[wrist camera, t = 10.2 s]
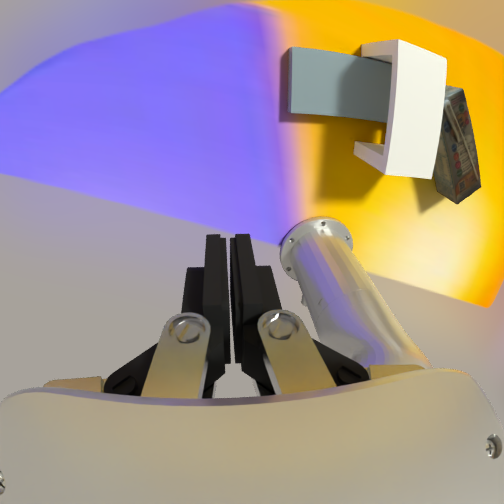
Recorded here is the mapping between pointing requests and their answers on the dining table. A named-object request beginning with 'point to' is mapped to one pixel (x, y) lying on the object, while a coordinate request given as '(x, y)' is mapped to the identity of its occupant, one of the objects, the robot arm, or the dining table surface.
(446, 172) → the beverage carton
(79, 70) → the dining table surface
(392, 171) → the shelf
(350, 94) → the panel
